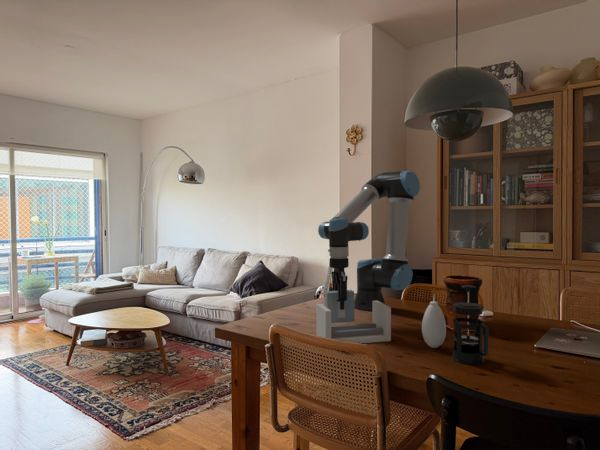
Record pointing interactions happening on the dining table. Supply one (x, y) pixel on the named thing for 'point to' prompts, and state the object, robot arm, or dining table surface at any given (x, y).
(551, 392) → the dining table surface
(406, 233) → the robot arm
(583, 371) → the dining table surface
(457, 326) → the french press
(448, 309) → the vessel
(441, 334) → the white air blower bulb
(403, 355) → the dining table surface
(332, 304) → the sliding door panel
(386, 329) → the door track
